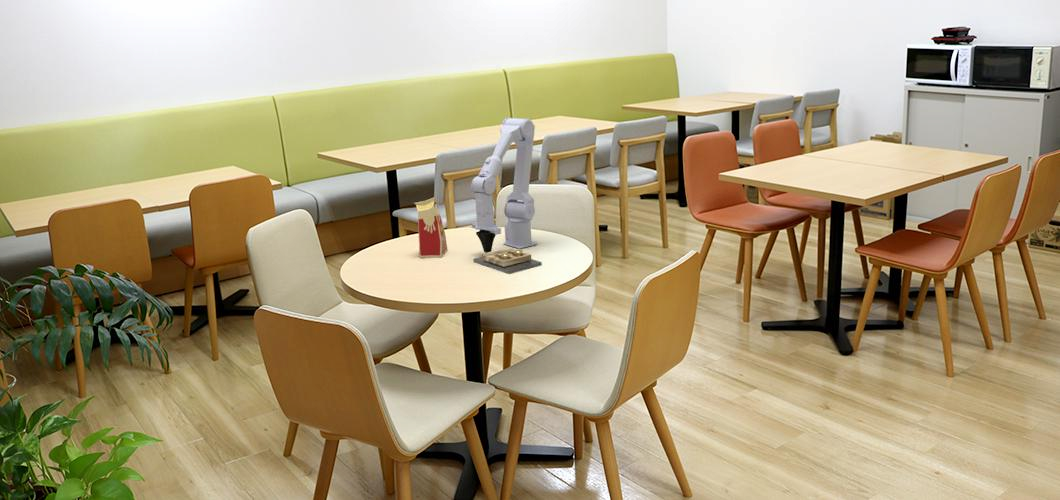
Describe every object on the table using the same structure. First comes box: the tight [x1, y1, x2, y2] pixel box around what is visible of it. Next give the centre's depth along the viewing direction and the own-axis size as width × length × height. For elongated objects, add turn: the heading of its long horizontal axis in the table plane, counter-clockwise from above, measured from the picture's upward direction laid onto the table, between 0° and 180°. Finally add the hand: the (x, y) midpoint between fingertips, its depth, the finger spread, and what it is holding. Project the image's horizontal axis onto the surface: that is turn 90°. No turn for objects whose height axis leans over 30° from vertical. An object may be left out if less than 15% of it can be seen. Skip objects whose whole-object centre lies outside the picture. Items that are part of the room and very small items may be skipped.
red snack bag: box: [413, 196, 448, 259], centre depth 307 cm, size 9×9×20 cm
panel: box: [481, 248, 532, 267], centre depth 293 cm, size 12×11×2 cm
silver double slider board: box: [472, 249, 543, 275], centre depth 293 cm, size 20×13×4 cm, turn 37°
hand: (487, 251), depth 301 cm, fingers closed
